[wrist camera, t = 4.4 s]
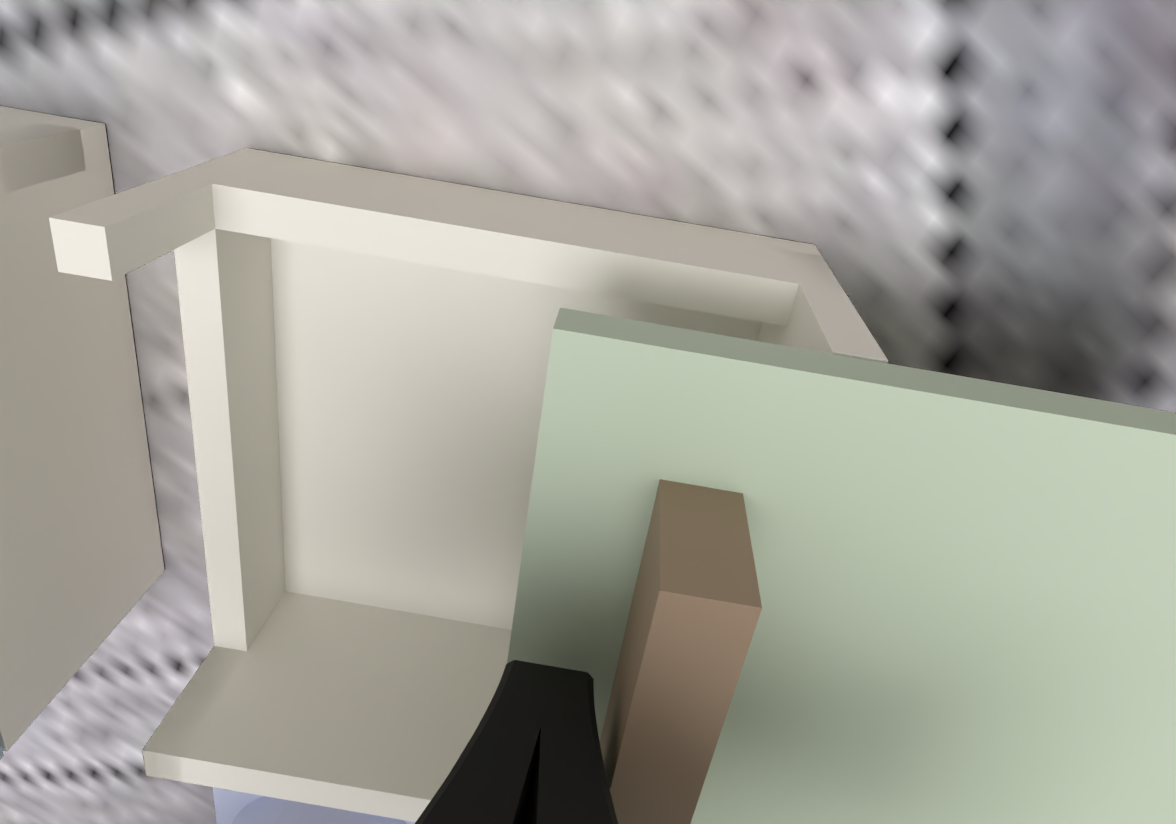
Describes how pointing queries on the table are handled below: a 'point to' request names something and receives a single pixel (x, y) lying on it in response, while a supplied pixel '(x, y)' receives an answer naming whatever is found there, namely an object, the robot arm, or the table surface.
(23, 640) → the crate
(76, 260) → the crate
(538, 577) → the lid
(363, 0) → the table surface
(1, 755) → the lid
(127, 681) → the table surface
